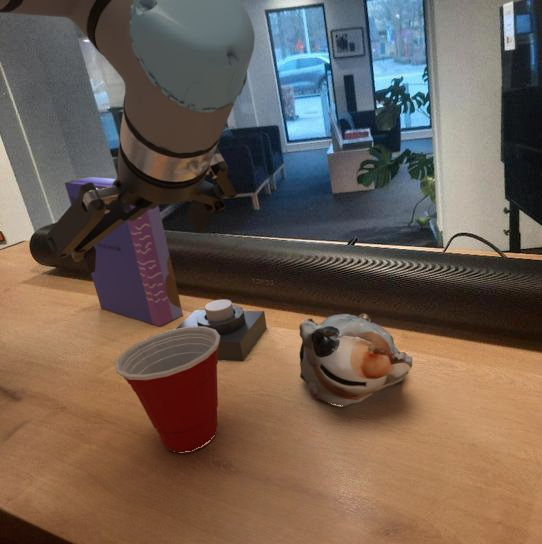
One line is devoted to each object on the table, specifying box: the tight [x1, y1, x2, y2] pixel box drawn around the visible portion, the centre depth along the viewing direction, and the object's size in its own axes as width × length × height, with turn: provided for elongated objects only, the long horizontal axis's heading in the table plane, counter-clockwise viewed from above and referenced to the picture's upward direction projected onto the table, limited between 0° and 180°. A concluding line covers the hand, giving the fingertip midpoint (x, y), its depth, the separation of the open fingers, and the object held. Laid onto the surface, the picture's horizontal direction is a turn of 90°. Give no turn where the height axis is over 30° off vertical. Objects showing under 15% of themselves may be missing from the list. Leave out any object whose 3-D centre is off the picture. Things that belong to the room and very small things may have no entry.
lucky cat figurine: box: [298, 312, 413, 407], centre depth 61 cm, size 15×12×14 cm
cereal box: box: [64, 176, 184, 328], centre depth 86 cm, size 17×5×24 cm, turn 58°
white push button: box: [204, 298, 234, 322], centre depth 75 cm, size 4×4×2 cm
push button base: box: [175, 304, 268, 362], centre depth 76 cm, size 12×10×5 cm
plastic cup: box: [114, 326, 220, 452], centre depth 55 cm, size 11×11×12 cm
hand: (143, 241), depth 60 cm, fingers open, 13 cm apart
